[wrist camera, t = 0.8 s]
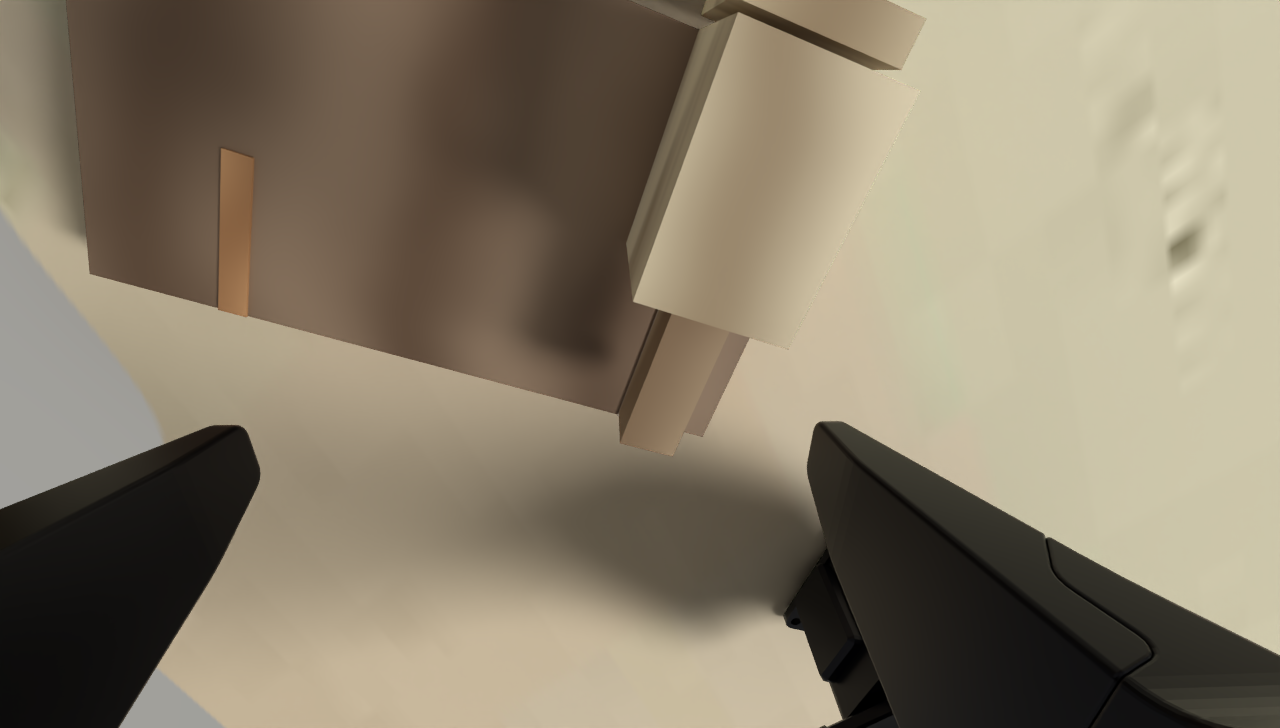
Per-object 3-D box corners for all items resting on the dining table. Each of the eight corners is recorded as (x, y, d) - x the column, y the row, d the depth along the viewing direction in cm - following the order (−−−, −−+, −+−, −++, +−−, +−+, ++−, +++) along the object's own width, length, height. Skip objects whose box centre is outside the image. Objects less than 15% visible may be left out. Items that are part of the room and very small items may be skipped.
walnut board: (837, 96, 18) (864, 98, 16) (695, 408, 23) (702, 438, 21) (117, -204, 14) (40, -248, 12) (138, 254, 19) (86, 274, 17)
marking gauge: (846, 31, 16) (961, 13, 11) (689, 386, 21) (716, 488, 16) (714, -27, 15) (770, -78, 10) (584, 357, 20) (577, 454, 15)
